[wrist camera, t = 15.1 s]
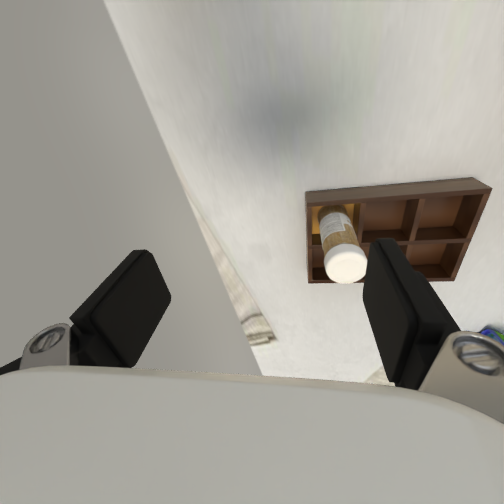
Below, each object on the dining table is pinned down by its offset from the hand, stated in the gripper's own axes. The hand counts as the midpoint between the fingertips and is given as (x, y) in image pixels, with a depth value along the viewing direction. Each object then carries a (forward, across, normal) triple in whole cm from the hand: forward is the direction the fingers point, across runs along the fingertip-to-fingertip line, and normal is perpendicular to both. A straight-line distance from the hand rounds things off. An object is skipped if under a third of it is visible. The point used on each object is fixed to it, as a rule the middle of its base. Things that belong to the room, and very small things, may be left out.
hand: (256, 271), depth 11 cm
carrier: (+28, -14, +15) cm, 35 cm away
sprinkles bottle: (+28, -7, +11) cm, 31 cm away
